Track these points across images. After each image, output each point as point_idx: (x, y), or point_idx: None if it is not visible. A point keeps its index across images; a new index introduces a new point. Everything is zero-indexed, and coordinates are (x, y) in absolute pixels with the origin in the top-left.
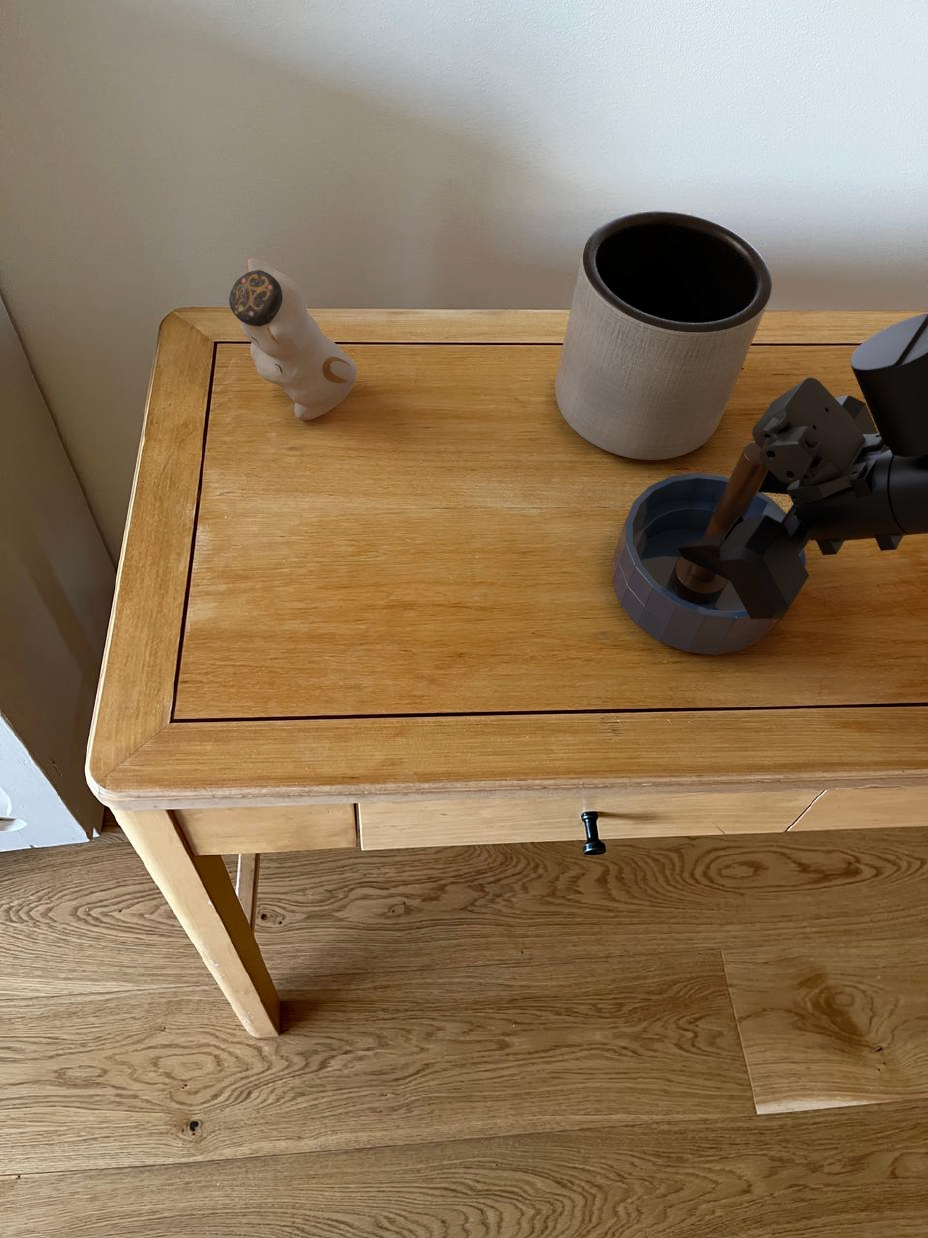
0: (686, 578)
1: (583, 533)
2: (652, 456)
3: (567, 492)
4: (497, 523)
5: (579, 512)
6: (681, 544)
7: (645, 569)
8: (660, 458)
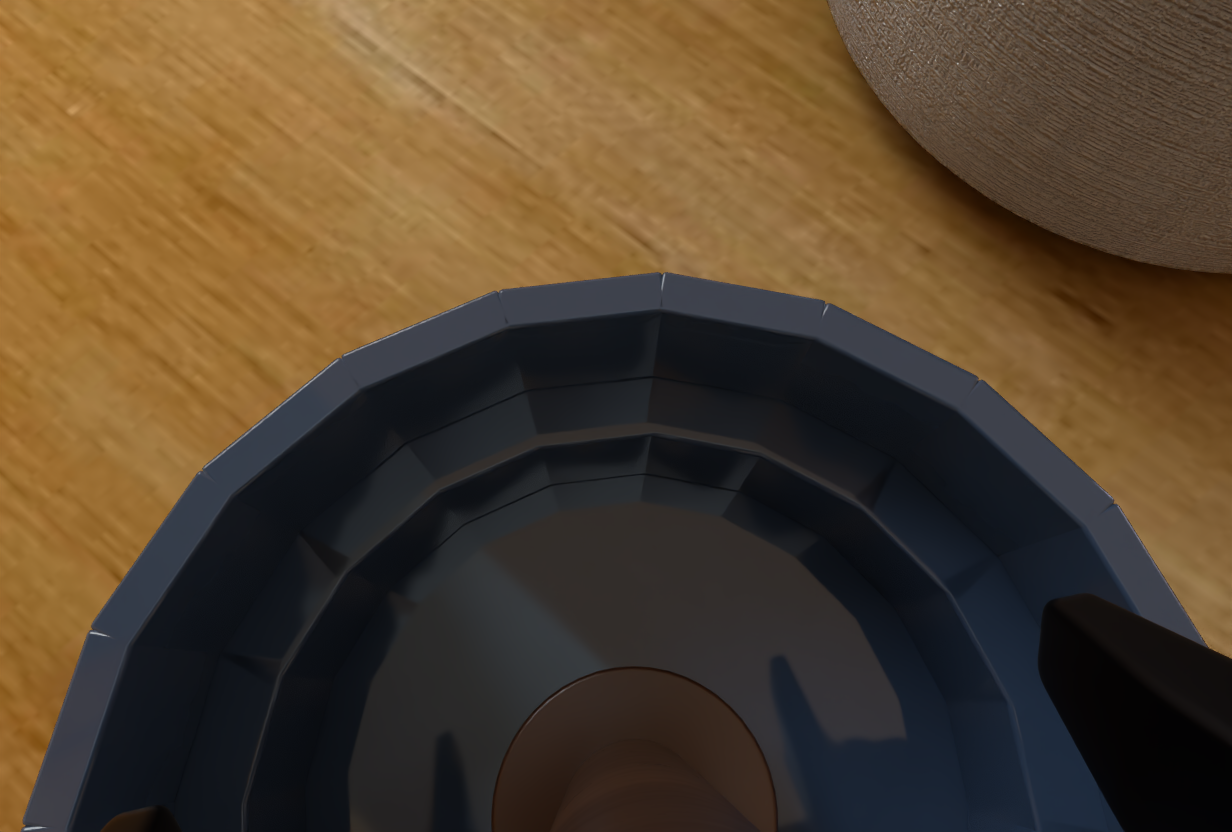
0: (529, 791)
1: (472, 280)
2: (987, 180)
3: (583, 107)
4: (256, 51)
5: (543, 200)
6: (136, 823)
7: (111, 688)
8: (1018, 211)
